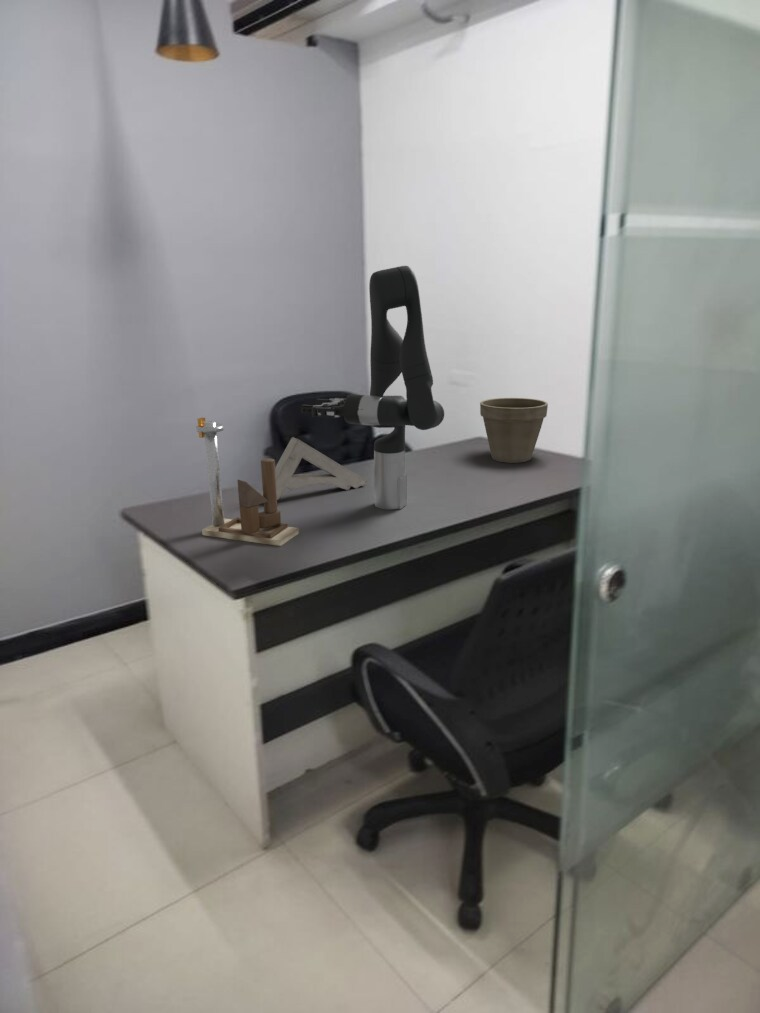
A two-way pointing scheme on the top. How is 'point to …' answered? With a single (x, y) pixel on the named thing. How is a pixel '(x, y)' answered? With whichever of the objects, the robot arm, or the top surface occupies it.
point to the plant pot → (513, 427)
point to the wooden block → (259, 501)
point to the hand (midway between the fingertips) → (308, 405)
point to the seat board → (264, 535)
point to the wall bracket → (289, 464)
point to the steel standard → (213, 467)
